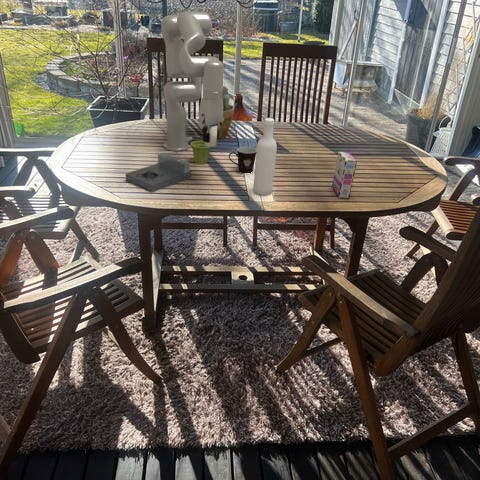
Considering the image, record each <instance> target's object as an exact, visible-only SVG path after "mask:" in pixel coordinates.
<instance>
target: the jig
mask: <svg viewBox="0 0 480 480" xmlns="http://www.w3.org/2000/svg"><path fill="white" fill-rule="evenodd" d="M157 161H158V163H154V164H151V165H149V166H145V167H143V168H142V167H141V168H139V169H137V170H133V171H130V172H126V173H125V181H127V182H128V183H130V184H133V185H135V186H137V187H139V188H142V189H144V190H146V191H149V192H151V193H154V192H155V193H156V191H160V190H162V189H165V188H167V187H171V186H173V185H175V184H178V183H180V182H183V181H186V180H188V179H191V178H192V171H191V170H190V169H191V168H190V167H191V166H190V165H191V163H190V162H189V161H186V160H183V159H181V158H179V157H176V156H173V155H171V154H167V153H165V152H162V153H158V154H157Z"/></svg>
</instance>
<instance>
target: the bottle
mask: <svg viewBox="0 0 480 480" xmlns="http://www.w3.org/2000/svg"><path fill="white" fill-rule="evenodd" d="M263 124H264V125H263V135H262V137H261V138H259V140H258V142H257V145H256V150H257V152H256V157H255V162H254V176H253V186H252V192H254V193H255V194H256V193H257V194H256V195H259V194H260V195H259V196H268V194H269V195H270V194H272V193H273V187H274V185H273V184H274V175H275V168H276V159H277V158H276V157H277V149H278V146H277V145H278V144H277V141H276V139H274V127H275V119H274V118H273V117H272V118H271V117H266V118H265V119H264V122H263Z"/></svg>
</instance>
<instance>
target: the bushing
mask: <svg viewBox="0 0 480 480" xmlns="http://www.w3.org/2000/svg"><path fill="white" fill-rule="evenodd" d="M206 129H207V126H206ZM209 133H210V142H209V143H207V142H205V145H206V146H209V147H210V148H211V147H213V148H214V147H216V146H217V142H218V140H217V125H216V124H214V125H210V130H209Z"/></svg>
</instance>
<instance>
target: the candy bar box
mask: <svg viewBox="0 0 480 480" xmlns="http://www.w3.org/2000/svg"><path fill="white" fill-rule="evenodd" d="M357 163H358V161H357V160H356V158H355V157H354V156H353V155H352V154H351V152H349V151H338V152H337V159H336V164H335V168H334V173H333V178H332V186H331V189H332V188H333V189H332V191H333V190H334V191H335V192H334V191H333V192H334V193H336V194H335V195H336V196H338V197H337V198H338V199H344V198H349V199H350V196H351V191H352V186H353V182H354V177H355V173H356V169H357Z"/></svg>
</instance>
